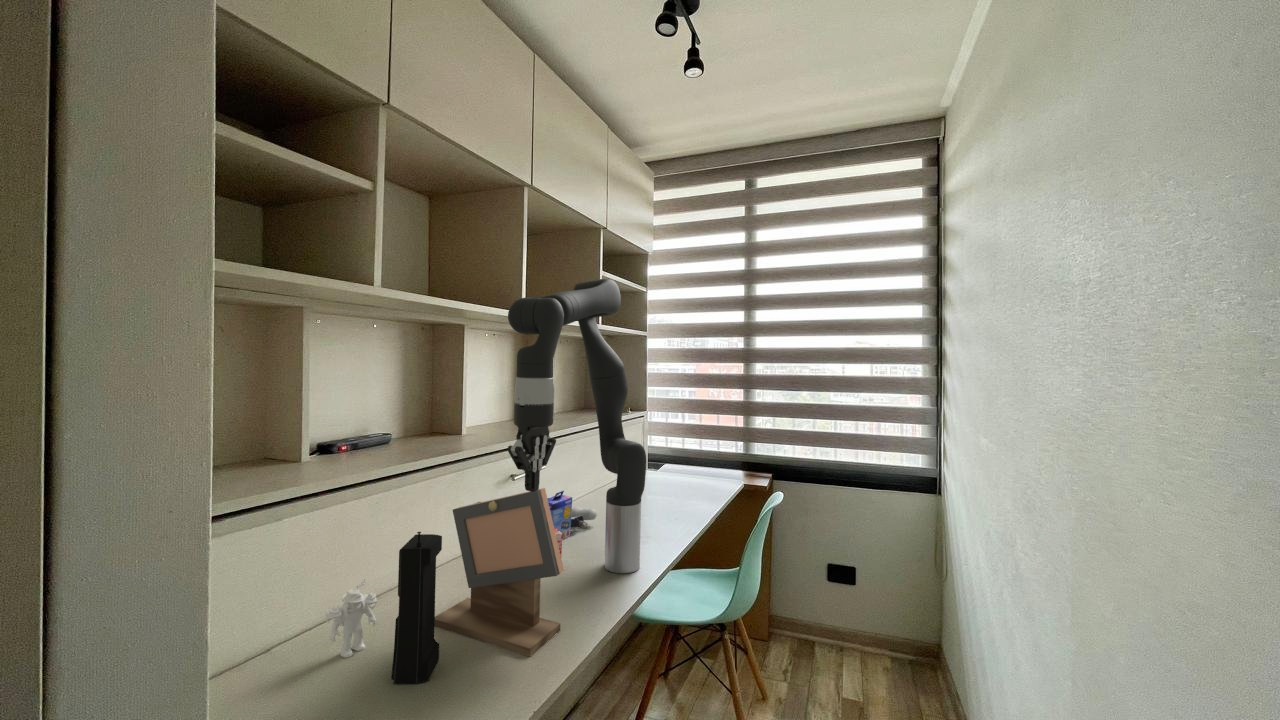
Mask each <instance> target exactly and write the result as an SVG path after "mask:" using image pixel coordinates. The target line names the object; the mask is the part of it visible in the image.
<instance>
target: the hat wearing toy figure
mask: <svg viewBox="0 0 1280 720" xmlns="http://www.w3.org/2000/svg"><path fill="white" fill-rule="evenodd" d="M366 580H367V579H363V581H361V582H360V583H359V584H357V585H356V586H355V587H356V588H351V589H349V590H347V592H346V593H344V595H343V596H342V598H341V601H342V602H344V603H343V604H342V606H341V607H339V605H333V606H332V607H331V606H330V607H329V608H328V610H327V611H326V612H325V614H324V615H325V616H324V617H325V621H326V624H329V623H330V621H331V620H332V621H333V623H332V625H331V628H330V634H329V640H330V641H331V643H335V642H336V639H335V638H336V636H337V635H338V636H341V633H342V645H341V647H340V651H339V656H340V657H342V658H349V657H352V656H353V649H355V650H354V651H357V652H360V651H364V650H365V649H366V644H364V642H363V639H364V636H363V626H362V618H363V614H365V616H366V617H368V621H367V625H370V623H372V627H375V626H376V625H377V618H376V616H375V615H374V612H373V611H372V610H371V609H374V608H375V607H376V606H377V605H378V600H377V594H376V593H375V592H369V593H367V594H364V593H361V591H360V590H362V587H364V585H365V584H366ZM371 605H373V606H371ZM328 619H329V620H328ZM339 626H341V627H343V629H342V631H341V632H340V631H339V630H338V628H339ZM352 636H353V637H354V639H353V642H352Z"/></svg>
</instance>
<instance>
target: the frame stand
mask: <svg viewBox="0 0 1280 720" xmlns="http://www.w3.org/2000/svg"><path fill="white" fill-rule="evenodd" d="M480 502H481V501H478V502H474V503H473V504H475V503H480ZM540 613H541V578H538V579H531V580H524V581H517V582H510V583H502V584H495V585H488V586H481V587H474V588H470V597H466V598H465V599H463V600H462V601H460V602H458V603H456V604H454V605H453V606H451V607H449V608H447V609H446V610H444V611H442V612H441V613H438V614H437V615H435V628H437V629H442V630H444V631H447V632H450V633H453V634H457V635H460V636H462V637H466V638H469V639H473V640H475V641H479V642H482V643H485V644H488V645H491V646H493V647H494V646H495V647H496V648H501V649H504V650H507V651H510V652H514V653H517V654H520V655H523V656H527V657H532V656H533V655H534V654H535V653H536V652H538V651H539V650H540V649H541V648H542V647H543V646H544V645H546V644H547V643H548V642H549V641H550V640H551V639H553V638H554V637H555V636H556V635H557V634H559V633H560V632H561V623H560V622H556V621H553V620H550V619H545V618H542V617H540ZM559 631H560V632H559ZM556 633H557V634H556ZM555 634H556V635H555ZM554 635H555V636H554ZM553 636H554V637H553ZM552 637H553V638H552ZM548 640H549V641H548ZM547 641H548V642H547ZM546 642H547V643H546ZM545 643H546V644H545ZM541 646H542V647H541ZM540 647H541V648H540ZM539 648H540V649H539ZM538 649H539V650H538ZM531 655H532V656H531Z"/></svg>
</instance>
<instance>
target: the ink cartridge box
mask: <svg viewBox="0 0 1280 720" xmlns="http://www.w3.org/2000/svg"><path fill="white" fill-rule="evenodd" d="M564 492H565V490H561V491H559V492H557V493H555V495H553V496H552V497H547V499H548V503H549V508H550V512H551V516H552V521H553V525H554V527H555V528H556V529H557V530H558V531H560V532H561V533H562V541H563V540H565V539H568V538H570V537H571V529H572V528H571V513H572V509H573V497H572V496H570V495H569V496H568V495H564Z"/></svg>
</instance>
